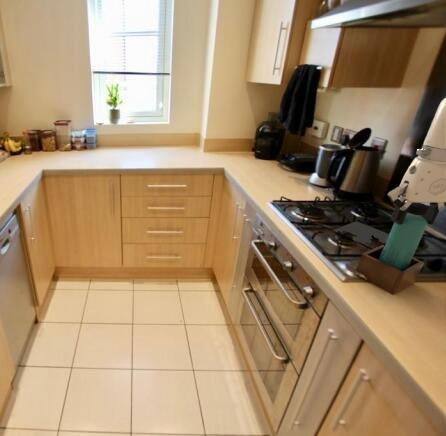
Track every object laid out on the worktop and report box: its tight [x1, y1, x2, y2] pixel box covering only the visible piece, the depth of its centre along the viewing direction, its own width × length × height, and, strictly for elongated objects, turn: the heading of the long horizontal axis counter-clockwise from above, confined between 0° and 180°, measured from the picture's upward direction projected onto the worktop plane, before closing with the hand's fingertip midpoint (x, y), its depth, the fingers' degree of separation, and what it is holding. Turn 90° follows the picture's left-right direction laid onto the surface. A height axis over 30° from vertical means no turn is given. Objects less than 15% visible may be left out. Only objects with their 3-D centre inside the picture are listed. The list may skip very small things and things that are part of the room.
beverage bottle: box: [379, 202, 429, 271], centre depth 83 cm, size 6×7×20 cm
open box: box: [355, 245, 425, 296], centre depth 87 cm, size 10×10×7 cm
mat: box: [332, 220, 389, 244], centre depth 109 cm, size 14×14×1 cm
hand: (411, 221), depth 80 cm, fingers closed on beverage bottle, 6 cm apart
